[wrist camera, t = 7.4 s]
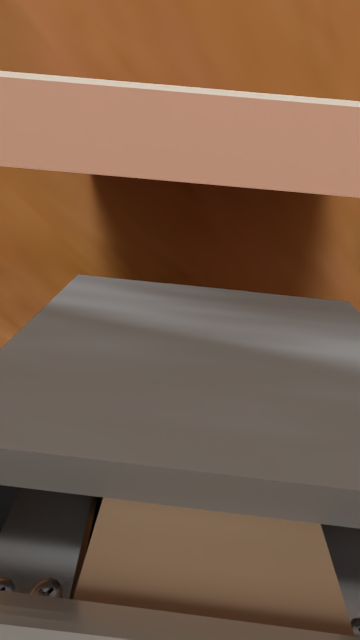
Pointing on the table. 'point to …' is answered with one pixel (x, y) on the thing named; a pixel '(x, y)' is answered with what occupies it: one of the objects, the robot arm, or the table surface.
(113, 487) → the brown grey block
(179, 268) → the table surface
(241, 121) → the tile
